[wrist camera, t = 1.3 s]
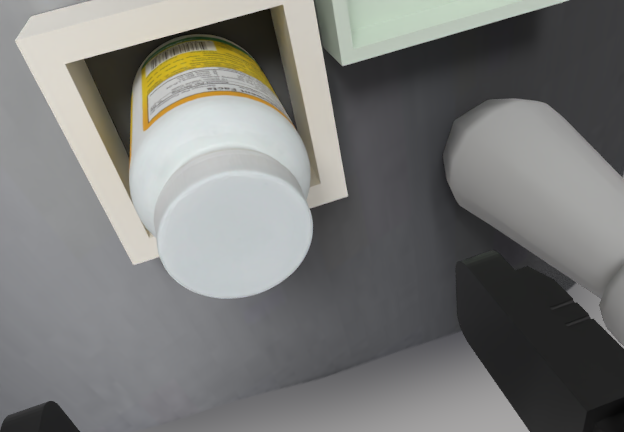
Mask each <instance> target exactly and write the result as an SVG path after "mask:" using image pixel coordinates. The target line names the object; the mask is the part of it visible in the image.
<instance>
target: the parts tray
mask: <svg viewBox="0 0 624 432" xmlns="http://www.w3.org/2000/svg"><path fill="white" fill-rule="evenodd" d="M565 1H569V0H315V5H316V11H317V17H318V22H319V28H320V34H321V40H322V45H323V47H324V48H325V49H326V50H327V51H328V52H329V53H330V54H331V55H332V56H333V57H334V58H335V59H336V60H337V61H338V62H339V63H340V64H341V65H342V66H345V65H349V64H352V63H356V62H359V61H363V60H366V59H369V58H373V57H376V56H380V55H383V54H387V53H390V52H393V51H397V50H400V49H404V48H407V47H411V46H414V45H417V44H421V43H424V42H428V41H431V40H435V39H438V38H441V37H445V36H448V35H452V34H455V33H459V32H462V31H466V30H469V29H472V28H476V27H479V26H483V25H486V24H490V23H493V22H496V21H500V20H503V19H507V18H510V17H514V16H517V15H520V14H524V13H527V12H531V11H534V10H538V9H541V8H544V7H548V6H551V5H555V4H558V3H562V2H565Z"/></svg>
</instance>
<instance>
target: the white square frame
mask: <svg viewBox="0 0 624 432" xmlns="http://www.w3.org/2000/svg"><path fill="white" fill-rule="evenodd" d="M268 8H270V12H271V16H272V21H273V25H274V29H275V34H276V38H277V43H278V47H279V51H280V56H281V60H282V65H283V69H284V73H285V78H286V82H287V87H288V91H289V96H290V100H291V104H292V109H293V113H294V118H295V122H296V126H297V131H298V134H299V135H300V137H301V139H302V141H303V143H304V146H305V148H306V151H307V154H308V158H309V163H310V188H309V193H308V197H307V200H306V201H307V203H308V206H309V208H313V207H316V206H319V205H323V204H326V203H329V202H332V201H335V200H338V199H341V198H344V197H348V193H347V188H346V182H345V176H344V171H343V165H342V159H341V154H340V148H339V142H338V137H337V131H336V125H335V120H334V114H333V108H332V103H331V97H330V91H329V86H328V80H327V74H326V69H325V63H324V57H323V52H322V46H321V40H320V35H319V29H318V23H317V18H316V12H315V6H314V1H313V0H91V1H87V2H83V3H80V4H76V5H72V6H68V7H64V8H61V9H57V10H53V11H49V12H45V13H41V14H38V15H34V16H31V17H30V19H29V20H28V22H27V23H26V25H25V26H24V28H23V29H22V31H21V32H20V34H19V35H18V37H17V38H16V40H15V42H16V44H17V46H18V48H19V49H20V51H21V53H22V55H23V57H24V59H25V61H26V63H27V65H28V67H29V68H30V70H31V72H32V74H33V76H34V78H35V80H36V82H37V84H38V85H39V87H40V89H41V91H42V93H43V95H44V97H45V99H46V101H47V102H48V104H49V106H50V108H51V110H52V112H53V114H54V116H55V118H56V119H57V121H58V123H59V125H60V127H61V129H62V131H63V133H64V135H65V137H66V138H67V140H68V142H69V144H70V146H71V148H72V150H73V152H74V154H75V155H76V157H77V159H78V161H79V163H80V165H81V167H82V169H83V171H84V172H85V174H86V176H87V178H88V180H89V182H90V184H91V186H92V188H93V190H94V191H95V193H96V195H97V197H98V199H99V201H100V203H101V205H102V207H103V208H104V210H105V212H106V214H107V216H108V218H109V220H110V222H111V224H112V225H113V227H114V229H115V231H116V233H117V235H118V237H119V239H120V241H121V243H122V244H123V246H124V248H125V250H126V252H127V254H128V256H129V258H130V260H131V261H132V263H133V265H136V264H139V263H142V262H145V261H148V260H151V259H154V258H157V257H159V254H158V248H157V241H156V238H155V237H154V236H153V235H152V234H151V233H150V232H149V231H148V229H147V228H146V227H145V226H144V224H143V223H142V221H141V220H140V218H139V216H138V214H137V212H136V210H135V208H134V205H133V202H132V198H131V194H130V187H129V161H130V159H129V156H128V154H127V152H126V150H125V148H124V145H123V143H122V141H121V139H120V137H119V135H118V132H117V130H116V128H115V126H114V124H113V121H112V119H111V117H110V115H109V113H108V111H107V108H106V106H105V104H104V102H103V100H102V98H101V95H100V93H99V91H98V89H97V87H96V84H95V82H94V80H93V78H92V76H91V74H90V71H89V69H88V67H87V65H86V63H85V60H84V59H85V58H89V57H93V56H96V55H100V54H104V53H107V52H111V51H115V50H118V49H122V48H126V47H129V46H133V45H137V44H140V43H144V42H148V41H151V40H155V39H159V38H162V37H166V36H170V35H173V34H177V33H181V32H184V31H188V30H191V29H195V28H199V27H202V26H206V25H210V24H213V23H217V22H221V21H224V20H228V19H232V18H235V17H239V16H243V15H246V14H250V13H254V12H257V11H261V10H265V9H268Z"/></svg>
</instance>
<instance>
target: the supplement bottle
mask: <svg viewBox="0 0 624 432" xmlns="http://www.w3.org/2000/svg"><path fill="white" fill-rule="evenodd" d="M129 187H130V194H131V198H132V202H133V205H134V208H135V210H136V212H137V214H138V216H139V218H140V220H141V221H142V223H143V224H144V226H145V227H146V228H147V229H148V231H149V232H150V233H151V234H152V235H153V236H154V237H155V238H156V241H157V248H158V254H159V257H160V260H161V262H162V264H163V266H164V268H165V269H166V270H167V272H168V273H169V275H170V276H171V277H172V278H173V279H174V280H175V281H177V282H178V283H179V284H180V285H182V286H183V287H185V288H186V289H189V290H190V291H192V292H195V293H197V294H200V295H203V296H208V297H213V298H223V299H231V298H242V297H249V296H253V295H256V294H259V293H261V292H264V291H266V290H269V289H271V288H272V287H274V286H276V285H278V284H279V283H281V282H282V281H284V280H285V279H286V278H287V277H289V276H290V275H291V274H292V273H293V272H294V271H295V270H296V269H297V268H298V266H299V265H300V264H301V262H302V261H303V259H304V258H305V256H306V254H307V252H308V250H309V247H310V244H311V240H312V235H313V221H312V215H311V211H310V208H309V206H308V203H307V201H306V200H307V197H308V193H309V188H310V163H309V158H308V154H307V151H306V148H305V146H304V143H303V141H302V139H301V137H300V135H299V134H298V132H297V130H296V128H295V127H294V125H293V123H292V121H291V120H290V118H289V116H288V115H287V113H286V111H285V109H284V108H283V106H282V104H281V102H280V101H279V99H278V97H277V95H276V94H275V92H274V90H273V89H272V87H271V85H270V83H269V82H268V80H267V78H266V76H265V75H264V73H263V71H262V69H261V68H260V66H259V65H258V64H257V62H256V61H255V59H254V58H253V57H252V56H251V55H250V54H249V53H248V52H247V51H246V50H244V49H243V48H242V47H240V46H239V45H237V44H235V43H233V42H231V41H229V40H227V39H225V38H222V37H218V36H214V35H208V34H192V35H184V36H181V37H177V38H174V39H172V40H169V41H167V42H165V43H163V44H162V45H160V46H159V47H157V48H156V49H155V50H153V51H152V52H151V53H150V54H149V55H148V56H147V58H146V59H145V60H144V61H143V63H142V64H141V66H140V67H139V69H138V71H137V73H136V76H135V79H134V82H133V86H132V94H131V125H130V161H129Z"/></svg>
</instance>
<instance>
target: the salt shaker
mask: <svg viewBox="0 0 624 432" xmlns="http://www.w3.org/2000/svg"><path fill="white" fill-rule="evenodd" d="M443 161H444V167H445V173H446V180H447V182H448V184H449V186H450V188H451V191H452V193H453V195H454V197H455V199H456V201H457V202H458V204H459V205H460V206H461V207H463V208H464V209H466V210H468V211H469V212H471V213H472V214H474V215H475V216H477V217H479V218H480V219H482V220H483V221H485V222H487V223H488V224H490V225H491V226H493V227H494V228H496V229H497V230H499V231H500V232H502V233H503V234H505V235H506V236H508V237H509V238H511V239H512V240H514V241H515V242H517V243H518V244H520V245H521V246H523V247H524V248H526V249H527V250H529V251H530V252H532V253H533V254H535V255H536V256H538V257H539V258H541V259H542V260H544V261H545V262H547V263H548V264H550V265H551V266H553V267H554V268H556V269H557V270H559V271H560V272H562V273H563V274H565V275H566V276H568V277H569V278H571V279H572V280H574V281H575V282H577V283H578V284H580V285H581V286H583V287H584V288H586V289H587V290H589V291H590V292H592V293H593V294H595V295H596V296H598V297H599V298H601V302H600V304H599V306H600V310H601V314H602V318H603V321H604V323H605V325H606V327H607V329H608V330H609V331H610V332H611V333H612V334H613V336H614V337H615V338H616V339H617V340H618V341H619V342H620V343H621V344H622V345H623V346H624V179H623V178H622V177H621V176H620V175H619V174H618V173H617V172H616V171H615V170H614V169H613V168H612V167H611V166H610V165H609V164H608V163H607V162H606V161H605V160H604V158H603V157H602V156H601V155H600V154H599V153H598V152H597V151H596V150H595V149H594V148H593V147H592V146H591V145H590V144H589V143H588V142H587V141H586V140H585V139H584V138H583V137H582V136H581V135H580V134H579V133H578V132H577V131H576V130H575V129H574V128H573V127H572V126H571V125H570V124H569V123H568V122H567V121H566V120H565V119H564V118H563V117H562V116H561V115H560V114H559V113H557V112H556V111H555V110H554V109H552V108H551V107H550V106H549V105H548V104H546V103H543V102H539V101H533V100H524V99H515V98H510V99H489V100H486V101H485V102H483V103H481V104H480V105H478V106H476V107H475V108H473V109H472V110H470V111H468V112H467V113H465V114H464V115H462V116H460V117H459V118H457V119H455V120H454V122H453V125H452V128H451V131H450V134H449V137H448V140H447V143H446V146H445V149H444V152H443Z"/></svg>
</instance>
